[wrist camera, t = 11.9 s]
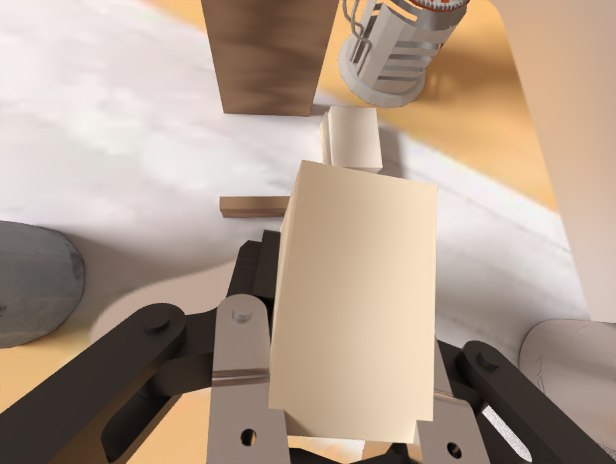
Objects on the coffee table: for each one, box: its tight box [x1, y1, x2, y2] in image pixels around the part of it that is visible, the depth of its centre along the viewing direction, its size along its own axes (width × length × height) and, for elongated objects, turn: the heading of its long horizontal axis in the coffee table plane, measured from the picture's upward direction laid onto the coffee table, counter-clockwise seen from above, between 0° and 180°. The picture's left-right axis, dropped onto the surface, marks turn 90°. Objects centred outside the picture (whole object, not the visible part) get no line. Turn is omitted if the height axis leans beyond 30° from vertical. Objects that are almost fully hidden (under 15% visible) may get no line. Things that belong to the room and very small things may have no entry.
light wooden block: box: [268, 160, 437, 444], centre depth 11 cm, size 3×5×11 cm, turn 173°
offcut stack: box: [320, 106, 383, 174], centre depth 27 cm, size 4×6×4 cm
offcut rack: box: [201, 0, 339, 217], centre depth 20 cm, size 8×12×16 cm
